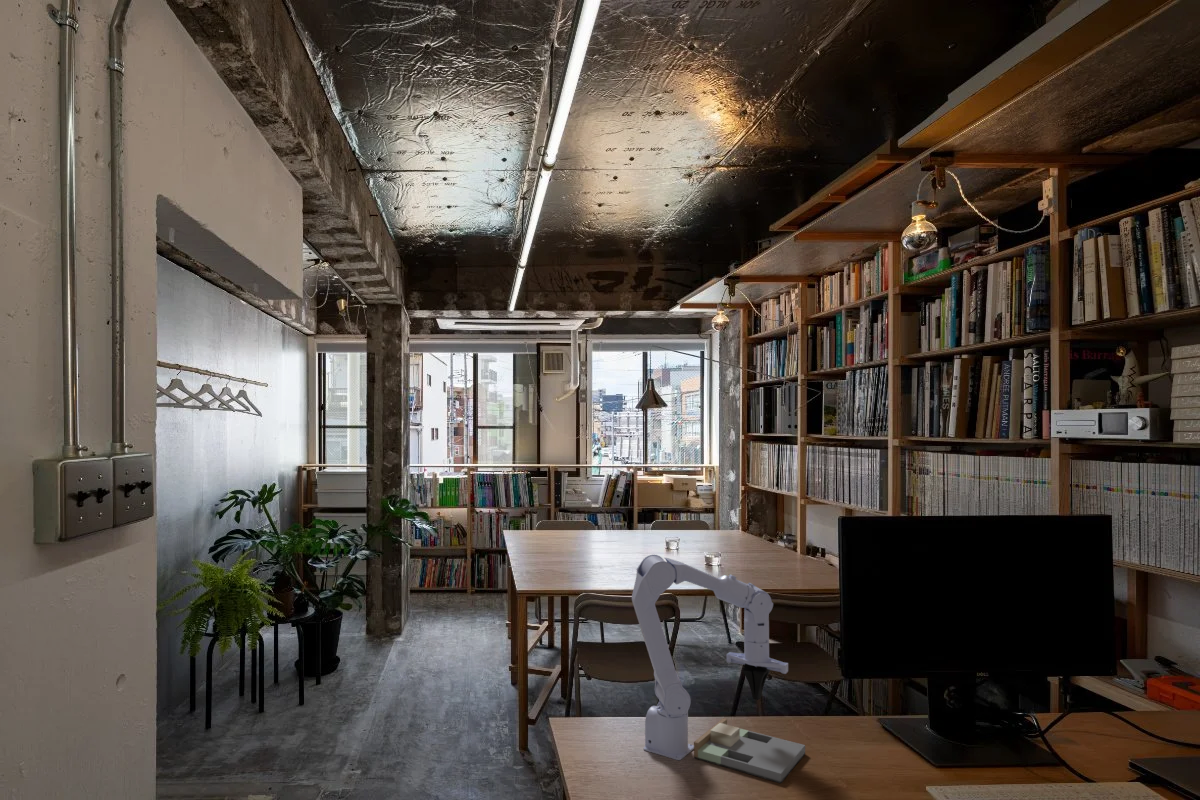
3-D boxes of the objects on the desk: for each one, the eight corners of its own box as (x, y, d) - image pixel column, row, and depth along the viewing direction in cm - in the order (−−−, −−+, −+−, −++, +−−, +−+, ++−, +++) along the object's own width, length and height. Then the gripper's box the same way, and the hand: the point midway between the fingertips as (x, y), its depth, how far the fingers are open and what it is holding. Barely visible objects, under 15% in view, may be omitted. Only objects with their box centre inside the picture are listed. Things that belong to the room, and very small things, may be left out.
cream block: (710, 741, 160) (710, 730, 161) (719, 733, 165) (719, 722, 165) (730, 746, 158) (730, 735, 158) (739, 738, 162) (739, 727, 162)
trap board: (693, 758, 157) (693, 742, 157) (723, 732, 170) (723, 717, 170) (780, 783, 145) (780, 766, 146) (805, 754, 159) (805, 738, 159)
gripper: (792, 640, 164) (792, 699, 164) (734, 630, 172) (734, 686, 172) (782, 648, 158) (782, 709, 158) (722, 637, 167) (723, 695, 166)
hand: (756, 698), depth 164 cm, fingers closed
